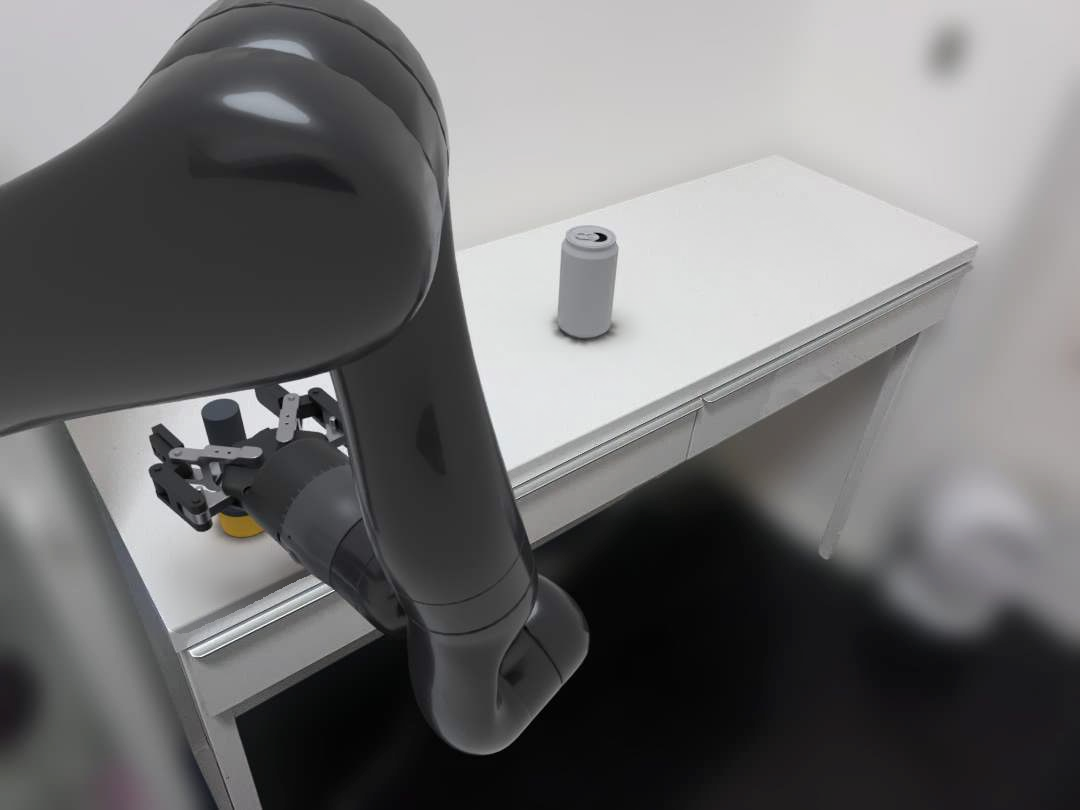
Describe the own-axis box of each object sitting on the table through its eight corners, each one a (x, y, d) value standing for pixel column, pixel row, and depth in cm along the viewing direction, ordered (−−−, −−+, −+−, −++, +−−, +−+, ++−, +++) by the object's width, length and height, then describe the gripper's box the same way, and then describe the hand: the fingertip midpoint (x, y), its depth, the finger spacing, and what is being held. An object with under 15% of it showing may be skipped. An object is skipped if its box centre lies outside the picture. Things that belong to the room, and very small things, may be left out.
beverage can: (611, 343, 94) (622, 249, 87) (556, 340, 94) (562, 246, 86) (608, 314, 99) (618, 223, 92) (556, 312, 99) (561, 221, 91)
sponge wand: (217, 539, 68) (184, 428, 60) (225, 502, 71) (195, 393, 64) (271, 535, 68) (245, 425, 61) (277, 498, 72) (253, 390, 64)
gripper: (410, 426, 57) (280, 336, 66) (227, 530, 49) (105, 411, 57) (415, 502, 62) (294, 409, 70) (249, 609, 53) (133, 488, 62)
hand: (209, 410), depth 64 cm, fingers open, 8 cm apart
